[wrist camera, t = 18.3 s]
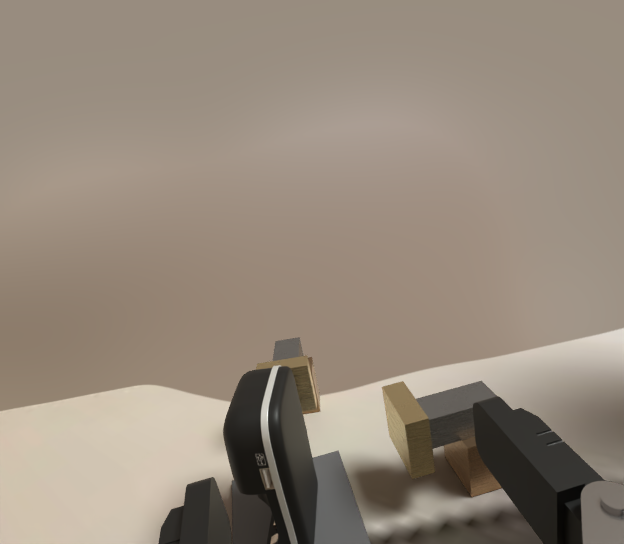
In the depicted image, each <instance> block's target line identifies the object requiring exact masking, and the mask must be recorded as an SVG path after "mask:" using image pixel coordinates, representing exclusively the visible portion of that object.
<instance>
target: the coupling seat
mask: <svg viewBox="0 0 624 544" xmlns="http://www.w3.org/2000/svg"><path fill="white" fill-rule="evenodd" d="M312 459H313V463H314V467H315V472H316V476H317V480H318V493H317V509H316V524H315V539H314V544H370V541H369V538H368V535H367V532H366V529H365V526H364V523H363V520H362V517H361V515H360V512H359V509H358V506H357V503H356V500H355V497H354V494H353V491H352V488H351V486H350V483H349V480H348V477H347V474H346V471H345V468H344V465H343V462H342V460H341V457H340V454H339V451H335V452H332V453H328V454H325V455H321V456H318V457H314V458H312ZM271 515H272V512H271V509H270V507H269V506H268V505H267V504H266V503H265V502H264V501H262V500H261V499H259V498H258V495H245V494H242V493H240V492H239V490H238V488H237V486H236V483H235V480H233V481H232V525H233V544H267V538H268V532H269V527H270V521H271Z"/></svg>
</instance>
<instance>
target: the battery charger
mask: <svg viewBox="0 0 624 544" xmlns="http://www.w3.org/2000/svg"><path fill="white" fill-rule="evenodd" d="M223 435H224V441H225V446H226V450H227V455H228V459H229V463H230V467H231V470H232V474H233V477H234V480H235V483H236V486H237V488H238V490H239V492H240V493H242V494H245V495H258V498H259V499H261V500H262V501H264V502H265V503H266V504H267V505H268V506H269V507H270V509H271V512H272V515H271V521H270V527H269V532H268V538H267V544H314V539H315V524H316V509H317V493H318V480H317V476H316V472H315V467H314V463H313V459H312V454H311V450H310V445H309V440H308V436H307V431H306V426H305V422H304V417H303V413H302V408H301V404H300V400H299V395H298V391H297V387H296V383H295V379H294V375H293V372H292V370H291V369H290V368H289V367H288V366H281V365H278V366H273V368H265V369H257V370H252V371H249V372H247V373H246V374H244V375H243V376H242V378H241V379H240V381H239V383H238V386H237V389H236V391H235V393H234V396H233V399H232V401H231V404H230V407H229V410H228V412H227V415H226V419H225V423H224V428H223Z"/></svg>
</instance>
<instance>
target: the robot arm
mask: <svg viewBox="0 0 624 544" xmlns="http://www.w3.org/2000/svg"><path fill="white" fill-rule="evenodd" d="M473 418H474V430H475V441H476V446H477V450H478V452H479V455H480V457H481V459H482V461H483V462H484V464H485V465H486V467H487V468H488V469H489V471H490V472H491V473H492V475H493V476H494V477H495V479H496V480H497V481H498V483H499V484H500V485H501V487H502V488H503V489H504V491H505V492H506V493H507V495H508V496H509V498H510V499H511V500H512V502H513V503H514V504H515V506H516V507H517V508H518V510H519V511H520V512H521V514H522V515H523V516H524V518H525V519H526V520H527V522H528V523H529V524H530V526H531V527H532V528H533V530H534V531H535V532H536V534H537V535H538V536H539V538H540V539H541V541H542V542H543V543H544V544H624V485H621V484H619V483H615V482H610V481H605V480H604V479H603V478H602V477H601V476H600V475H598V474H597V473H596V472H595V471H594V470H593V469H592V468H591V467H590V466H589V465H588V464H587V463H586V462H585V461H584V460H583V459H582V458H581V457H580V456H579V455H578V454H577V453H575V452H574V451H573V450H572V449H571V448H570V447H569V446H568V445H567V444H566V443H565V442H562V439H561V438H560V437H559V436H558V435H557V434H556V433H555V432H552V431H551V429H550V428H549V427H548V426H547V425H546V424H545V423H544V422H543V421H542V420H541V419H540V418H539V417H538V416H536V415H534V414H532V413H530V412H528V411H526V410H524V409H522V408H519V409H516V410H512V409H511V408H510V407H509V406H508V405H507V404H506V403H505V402H504V401H503V400H502V399H501V398H500V397H498V396H496V397H492V398H489V399H485V400H482V401H478V402H475V403H474V404H473ZM159 544H232V539H231V528H230V522H229V518H228V515H227V512H226V509H225V506H224V503H223V500H222V498H221V495H220V492H219V489H218V486H217V483H216V481H215V479H214V478H213V477H212V478H208V479H205V480H201V481H198V482H194V483H191V484H188V485H187V487H186V493H185V502H184V506H181V507H178V508H174V509H171V511H170V513H169V515H168V516H167V518H166V520H165V522H164V524H163V525H162V527H161V532H160V538H159Z"/></svg>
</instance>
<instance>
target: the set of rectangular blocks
mask: <svg viewBox="0 0 624 544" xmlns="http://www.w3.org/2000/svg"><path fill="white" fill-rule="evenodd" d="M278 365H281V366H288V367H289V368H290V369H291V370H292V372H293V375H294V379H295V383H296V387H297V391H298V395H299V400H300V404H301V408H302V413H303V414H306V413H313V412H319V411H320V395H319V389H318V384H317V379H316V375H315V370H314V365H313V360H312V357H310V358H308V357H307V356H303V351H302V347H301V342H300V338H293V339H287V340H281V341H276V342H275V349H274V356H273V361H272V362H265V363H259V364H257V367H256V370H257V369H265V368H273V366H278ZM382 390H383V396H384V403H385V409H386V416H387V422H388V429H389V435H390V438H391V440H392V442H393V444H394V445H395V447H396V449H397V451H398V453H399V455H400V457H401V459H402V461H403V462H404V464H405V466H406V468H407V470H408V472H409V474H410V476H411V478H412V479H415V478H418V477H421V476H425V475H428V474H431V473H435V467H434V459H433V450H432V449H434V448H437V447H440V446H444V450H445V458H446V459H447V461H448V462H449V464H450V465H451V467H452V468H453V470H454V471H455V473H456V474H457V476H458V477H459V479H460V480H461V482H462V483H463V485H464V486H465V488H466V489H467V491H468V492H469V494H470V495H471V497H474V496H477V495H480V494H484V493H487V492H490V491H493V490H497V489H500V488H502V487H501V485H500V484H499V483H498V481H497V480H496V479H495V477H494V476H493V475H492V473H491V472H490V471H489V469H488V468H487V467H486V465H485V464H484V462H483V461H482V459H481V457H480V455H479V452H478V450H477V446H476V441H475V430H474V418H473V404H474V403H475V402H478V401H482V400H485V399H489V398H492V397H496V395H495V394H494V393H493V392H492V391H491V390H490V389H489V388H488V387H487V386H486V385H485V384H484V383H483V382H482V381H479V382H476V383H472V384H468V385H465V386H461V387H458V388H454V389H450V390H447V391H443V392H439V393H436V394H432V395H429V396H425V397H421V398H418V399H415V398H414V396H413V395H412V393H411V392H410V391H409V389H408V388H407V386H406V385H405V383H404V382H403V381H402V382H399V383H395V384H391V385H388V386H384V387H382Z"/></svg>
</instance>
